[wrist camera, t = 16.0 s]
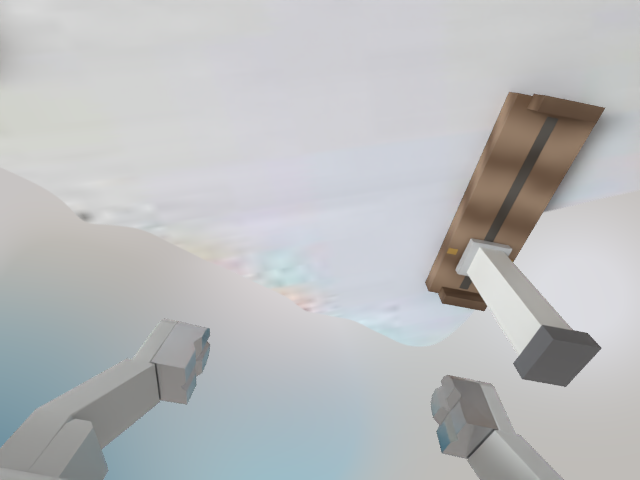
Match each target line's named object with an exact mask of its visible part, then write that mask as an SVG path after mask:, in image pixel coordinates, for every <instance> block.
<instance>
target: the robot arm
mask: <svg viewBox="0 0 640 480" xmlns="http://www.w3.org/2000/svg"><path fill="white" fill-rule="evenodd" d="M209 336H210V329H209V328H206V327H201V326H197V325H192V324H188V323H184V322H179V321H174V320H169V319H163V320H161V321H160V322H159V323H158V325H157V326H156V327H155V329H154V330H153V331H152V333H151V334H150V335H149V337H148V338H147V340H146V341H145V342H144V344H143V345H142V346H141V348H140V349H139V350H138V352H137V353H136V355H135V356H134V357H133V359H126V360H124V361H122V362H120V363H118V364H117V365H115V366H113V367H111V368H109V369H107V370H106V371H104V372H102V373H100V374H99V375H97V376H95V377H93V378H91V379H89V380H88V381H86V382H84V383H82V384H80V385H79V386H77V387H75V388H73V389H71V390H70V391H68V392H66V393H64V394H62V395H60V396H59V397H57V398H55V399H53V400H52V401H50V402H48V403H46V404H44V405H42V406H41V407H39V408H37V409H35V410H34V412H33V413H32V414H31V415H30V416H29V417H28V418H27V419H26V420H25V422H24V423H23V424H22V425H21V426H20V427H19V428H18V429H17V430H16V431H15V432H14V434H13V435H12V436H11V437H10V438H9V439H8V440H7V441H6V442H5V444H4V445H3V446H2V447H1V448H0V480H103V479H104V477H105V475H106V474H107V472H108V467H107V463H106V461H105V458H104V455H103V453H102V449H103V448H104V447H105V446H106V445H108V444H109V443H110V442H111V441H113V440H114V439H115V438H116V437H118V436H119V435H120V434H121V433H122V432H124V431H125V430H126V429H127V428H129V427H130V426H131V425H132V424H133V423H135V422H136V421H137V420H138V419H140V418H141V417H142V416H143V415H144V414H146V413H147V412H148V411H149V410H151V409H152V408H153V407H154V406H156V405H157V404H158V403H159V402H160V400H162V401H168V402H174V403H180V404H187V403H188V401H189V399H190V397H191V395H192V393H193V391H194V389H195V387H196V376H198V375H200V374H201V373H202V372H203V370H204V367H205V365H206V362H207V359H208V356H209V351H210V344H209V343H208V342H207V340H208V338H209ZM441 383H442V386H441V387H439V388H437V389H435V391H434V393H433V395H432V400H431V410H432V415H433V418H434V419H435V421H436V422H437V423H438V424H439V427H438V429H437V436H438V440H439V444H440V448H441V452H442V453H443V454H448V455H452V456H457V457H461V458H466V459H468V460H467V461H468V463H469V464H470V466H471V467H472V469H473V470H474V471H475V473H476V474H477V476H478V477H479V479H480V480H564V479H563V478H562V477H561V476H560V475H559V474H558V473H557V472H556V471H555V470H554V469H553V468H552V467H551V466H550V465H549V464H548V463H547V462H546V461H545V460H544V459H543V458H542V457H541V456H540V455H539V454H538V453H537V452H536V450H534V448H532V446H531V445H530V444H529V443H528V442H527V441H526V440H525V439H524V438H523V437H522V436H521V435H519V434H516V433H515V431H514V429H513V427H512V425H511V422H510V420H509V418H508V416H507V414H506V411H505V409H504V407H503V405H502V403H501V400H500V398H499V396H498V394H497V392H496V389H495V387H494V386H493V385H492V384H490V383H485V382H480V381H475V380H472V379H466V378H460V377H455V376H450V375H447V376H444V377H443V379H442V380H441Z"/></svg>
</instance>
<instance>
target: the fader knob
mask: <svg viewBox="0 0 640 480" xmlns="http://www.w3.org/2000/svg"><path fill="white" fill-rule="evenodd" d="M511 251H512V248H511V247H510V246H509V245H504V244H499V243H494V242H489V241H483V240H478V239H473V238H471V239H470V241H469V243H468V245H467V247H466V249H465V251H464V253H463V255H462V257H461V259H460V261H459V263H458V265H457V267H456V269H455V270H456V272H457V274H460V275H465V276H469V277H470V279H471V280H472V282H473V284H474V285H475V287H476V288H477V290H478V292H479V293H480V295H481V297H482V298H483V300H484V301H485V303H486V305H487V306H488V308H489V309H490V311H491V313H492V314H493V316H494V318H495V319H496V321H497V322H498V324H499V326H500V327H501V329H502V331H503V332H504V334H505V336H506V337H507V339H508V340H509V342H510V344H511V345H512V347H513V348H514V350H515V352H516V353H517V355H518V358H517V359H516V361H515V362H514V363H513V364H514V366H515V367H516V369H517V371H518V373H519V374H520V376H521V378H522V379H525V380H531V381H537V382H542V383H548V384H554V385H559V386H564V387H566V386H567V385H568V384H569V383H570V382H571V380H573V378H574V377H575V376H576V375H577V374H578V373H579V372H580V371H581V370H582V369H583V368H584V367H585V365H586V364H587V363H588V362H589V361H590V360H591V359H592V358H593V357H594V356H595V355H596V354H597V352H598V351H599V350H600V349H601V347H600V346H599V345H598V344H597V343H596V342H595V341H594V340H593V338H592V337H591V336H590V335H589V334H588V333H584V332H579V331H574V330H572V328H570V326H569V325H568V324H567V323H566V322H565V321H564V320H563V318H562V317H561V316H560V315H559V314H558V313H557V312H556V311H555V309H554V308H553V307H552V306H551V305H550V304H549V303H548V302H547V300H546V299H545V298H544V297H543V296H542V295H541V294H540V293H539V291H538V290H537V289H536V288H535V287H534V286H533V285H532V283H531V282H530V281H529V280H528V279H527V278H526V277H525V276H524V275H523V273H522V272H521V271H520V270H519V269H518V268H517V267H516V265H515V264H514V263H513V262H512V261H511V260H510V259H509V258H508V256H509V255H510V253H511Z"/></svg>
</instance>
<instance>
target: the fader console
mask: <svg viewBox="0 0 640 480" xmlns="http://www.w3.org/2000/svg"><path fill="white" fill-rule="evenodd" d="M604 109H605V108H603V107H598V106H593V105H589V104H584V103H579V102H574V101H569V100H565V99H560V98H555V97H550V96H545V95H537V94H534V95H533V96H529V95H524V94H520V93H512V92H509V94H508V96H507V98H506V100H505V103H504V105H503V107H502V110H501V112H500V114H499V116H498V119H497V121H496V123H495V125H494V128H493V130H492V132H491V135H490V137H489V139H488V141H487V144H486V146H485V148H484V150H483V153H482V155H481V157H480V160H479V162H478V164H477V166H476V169H475V171H474V173H473V175H472V178H471V180H470V182H469V185H468V187H467V189H466V191H465V194H464V196H463V198H462V200H461V203H460V205H459V207H458V210H457V212H456V214H455V216H454V219H453V221H452V223H451V225H450V228H449V230H448V232H447V235H446V237H445V239H444V241H443V244H442V246H441V248H440V250H439V253H438V255H437V257H436V260H435V262H434V264H433V266H432V269H431V271H430V273H429V275H428V278H427V280H426V282H425V283H426V286H427V288H428V291H431V292H436V293H439V294H438V295H439V297H440V299H441V302H442V303H443V304H448V305H454V306H459V307H465V308H470V309H476V310H481V311H485V309H486V307H487V305H486V303H485V301H484V300H483V298H482V297H481V295H480V293H479V292H478V290H477V288H476V287H475V285H474V284H473V282H472V280H471V279H470V277H469V276H465V275H460V274H457V272H456V270H455V269H456V267H457V265H458V263H459V261H460V259H461V257H462V255H463V253H464V251H465V249H466V247H467V245H468V243H469V241H470V239H471V238H473V239H478V240H483V241H489V242H494V243H499V244H504V245H509V246H510V247H511V248H512V251H511V253H510V255H509V256H508V258H509V259H510V260H511V261H512V262H514V260H515V258H516V257H517V255H518V253H519V252H520V250H521V248H522V247H523V245H524V243H525V241H526V240H527V238H528V236H529V235H530V233H531V231H532V230H533V228H534V226H535V224H536V223H537V221H538V220H539V218H540V216H541V215H542V213H543V211H544V210H545V208H546V206H547V205H548V203H549V201H550V200H551V198H552V196H553V194H554V193H555V191H556V189H557V188H558V186H559V184H560V183H561V181H562V179H563V178H564V176H565V174H566V173H567V171H568V169H569V168H570V166H571V164H572V163H573V161H574V159H575V157H576V156H577V154H578V152H579V151H580V149H581V147H582V146H583V144H584V142H585V141H586V139H587V137H588V136H589V134H590V132H591V131H592V129H593V127H594V126H595V124H596V123H597V121H598V119H599V118H600V116H601V114H602V113H603V111H604Z"/></svg>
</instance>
